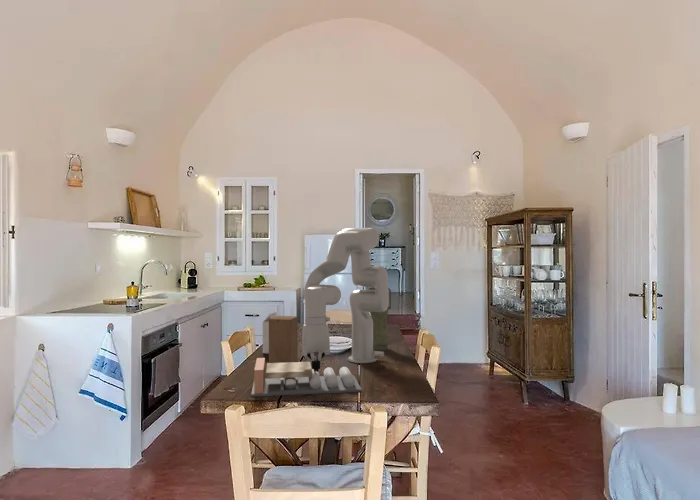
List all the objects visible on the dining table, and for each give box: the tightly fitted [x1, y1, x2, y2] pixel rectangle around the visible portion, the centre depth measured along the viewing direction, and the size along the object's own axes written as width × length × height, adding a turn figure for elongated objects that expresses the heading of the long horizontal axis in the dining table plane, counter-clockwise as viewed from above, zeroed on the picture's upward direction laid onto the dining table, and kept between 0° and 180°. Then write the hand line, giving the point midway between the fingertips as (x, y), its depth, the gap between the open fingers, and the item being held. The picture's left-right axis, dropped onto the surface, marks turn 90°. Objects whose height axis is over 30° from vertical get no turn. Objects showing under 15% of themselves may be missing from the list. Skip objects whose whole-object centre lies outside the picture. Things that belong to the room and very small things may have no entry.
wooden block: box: [268, 315, 299, 363], centre depth 209 cm, size 10×10×20 cm
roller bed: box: [250, 357, 363, 397], centre depth 175 cm, size 38×19×9 cm, turn 98°
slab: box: [265, 361, 312, 379], centre depth 174 cm, size 16×14×2 cm
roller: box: [284, 378, 296, 390], centre depth 174 cm, size 4×14×4 cm, turn 8°
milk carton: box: [262, 312, 279, 355], centre depth 230 cm, size 7×7×19 cm
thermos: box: [367, 287, 392, 352], centre depth 238 cm, size 9×12×35 cm
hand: (316, 370), depth 175 cm, fingers closed
